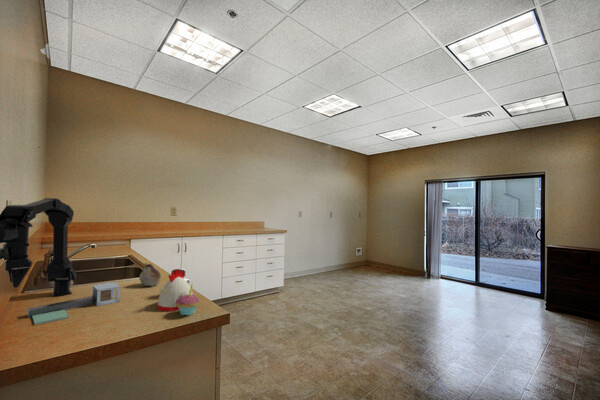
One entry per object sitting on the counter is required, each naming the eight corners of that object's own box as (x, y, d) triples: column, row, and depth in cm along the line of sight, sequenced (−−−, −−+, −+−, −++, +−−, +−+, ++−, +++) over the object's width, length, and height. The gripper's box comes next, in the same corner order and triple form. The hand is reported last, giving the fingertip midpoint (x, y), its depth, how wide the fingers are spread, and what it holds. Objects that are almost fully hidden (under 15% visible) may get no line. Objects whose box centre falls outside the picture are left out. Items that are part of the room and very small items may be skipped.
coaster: (32, 317, 101) (32, 315, 101) (64, 311, 107) (64, 309, 107) (34, 325, 95) (34, 323, 95) (68, 317, 101) (68, 316, 101)
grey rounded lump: (134, 287, 141) (135, 263, 141) (147, 282, 150) (148, 259, 151) (152, 288, 139) (154, 264, 140) (164, 283, 149) (166, 261, 149)
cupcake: (203, 311, 112) (204, 281, 112) (188, 319, 104) (189, 286, 104) (185, 308, 114) (187, 279, 115) (169, 315, 106) (171, 284, 107)
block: (95, 301, 118) (95, 290, 119) (107, 299, 122) (108, 288, 122) (97, 304, 115) (98, 292, 116) (110, 302, 119) (111, 290, 119)
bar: (26, 316, 102) (27, 308, 102) (93, 302, 118) (93, 295, 118) (28, 319, 100) (28, 310, 100) (95, 304, 116) (96, 297, 116)
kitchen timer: (149, 307, 114) (151, 270, 114) (176, 298, 127) (177, 265, 127) (175, 313, 109) (177, 275, 109) (200, 302, 121) (201, 268, 122)
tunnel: (91, 300, 119) (92, 285, 119) (113, 296, 125) (114, 282, 125) (96, 306, 114) (97, 289, 114) (119, 301, 120) (120, 286, 120)
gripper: (-19, 239, 99) (-22, 283, 98) (-16, 245, 87) (-20, 295, 87) (25, 237, 108) (22, 278, 107) (33, 242, 96) (30, 288, 95)
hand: (14, 284), depth 99 cm, fingers open, 9 cm apart
